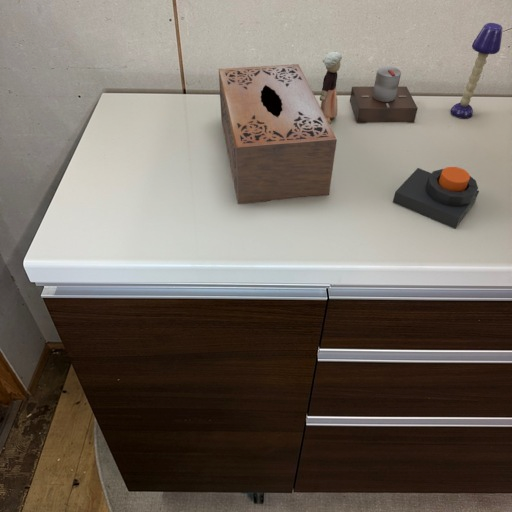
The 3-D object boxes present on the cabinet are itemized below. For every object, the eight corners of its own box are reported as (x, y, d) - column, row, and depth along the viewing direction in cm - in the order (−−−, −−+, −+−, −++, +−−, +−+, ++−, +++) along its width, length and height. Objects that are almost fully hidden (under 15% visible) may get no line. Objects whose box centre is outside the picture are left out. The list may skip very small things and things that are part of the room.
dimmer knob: (369, 92, 93) (374, 65, 89) (390, 90, 93) (396, 63, 89) (377, 103, 89) (382, 75, 86) (399, 101, 90) (405, 73, 86)
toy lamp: (477, 112, 93) (510, 23, 81) (471, 122, 90) (504, 32, 79) (453, 106, 95) (482, 18, 83) (446, 115, 92) (475, 26, 80)
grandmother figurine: (334, 129, 89) (343, 61, 80) (314, 126, 89) (321, 59, 80) (338, 109, 94) (346, 44, 85) (318, 107, 94) (325, 42, 85)
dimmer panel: (403, 100, 97) (406, 85, 94) (414, 122, 90) (418, 107, 88) (349, 100, 97) (352, 85, 94) (356, 122, 90) (359, 107, 88)
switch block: (475, 201, 73) (484, 180, 71) (454, 229, 69) (463, 208, 66) (415, 177, 78) (421, 156, 75) (392, 202, 73) (397, 181, 70)
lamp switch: (470, 182, 71) (474, 173, 69) (460, 195, 68) (464, 185, 67) (444, 173, 72) (448, 163, 71) (434, 185, 70) (437, 175, 69)
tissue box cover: (328, 195, 74) (336, 139, 67) (237, 203, 73) (236, 147, 66) (294, 114, 92) (298, 64, 85) (221, 120, 91) (218, 69, 84)
